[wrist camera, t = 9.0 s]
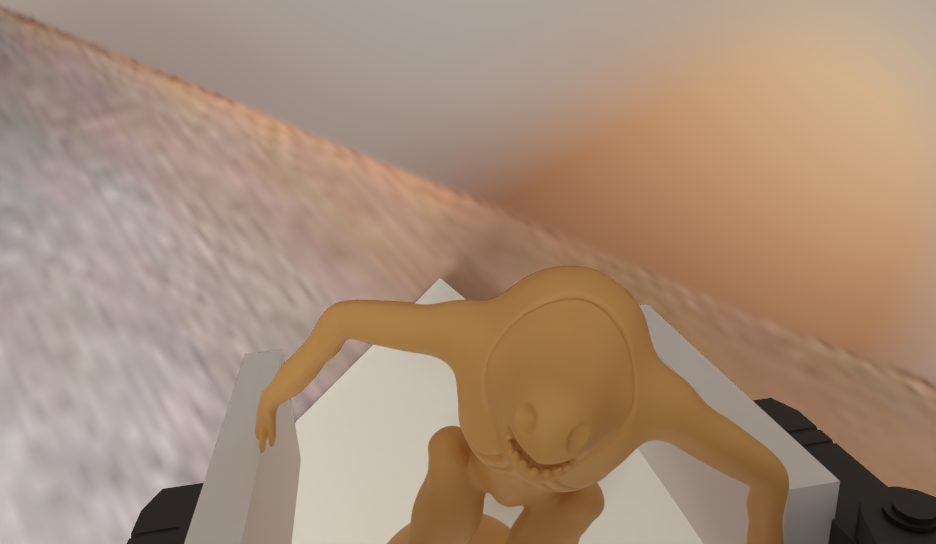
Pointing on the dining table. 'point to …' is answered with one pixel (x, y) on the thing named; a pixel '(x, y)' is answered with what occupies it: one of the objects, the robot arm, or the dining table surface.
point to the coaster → (406, 458)
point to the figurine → (539, 407)
